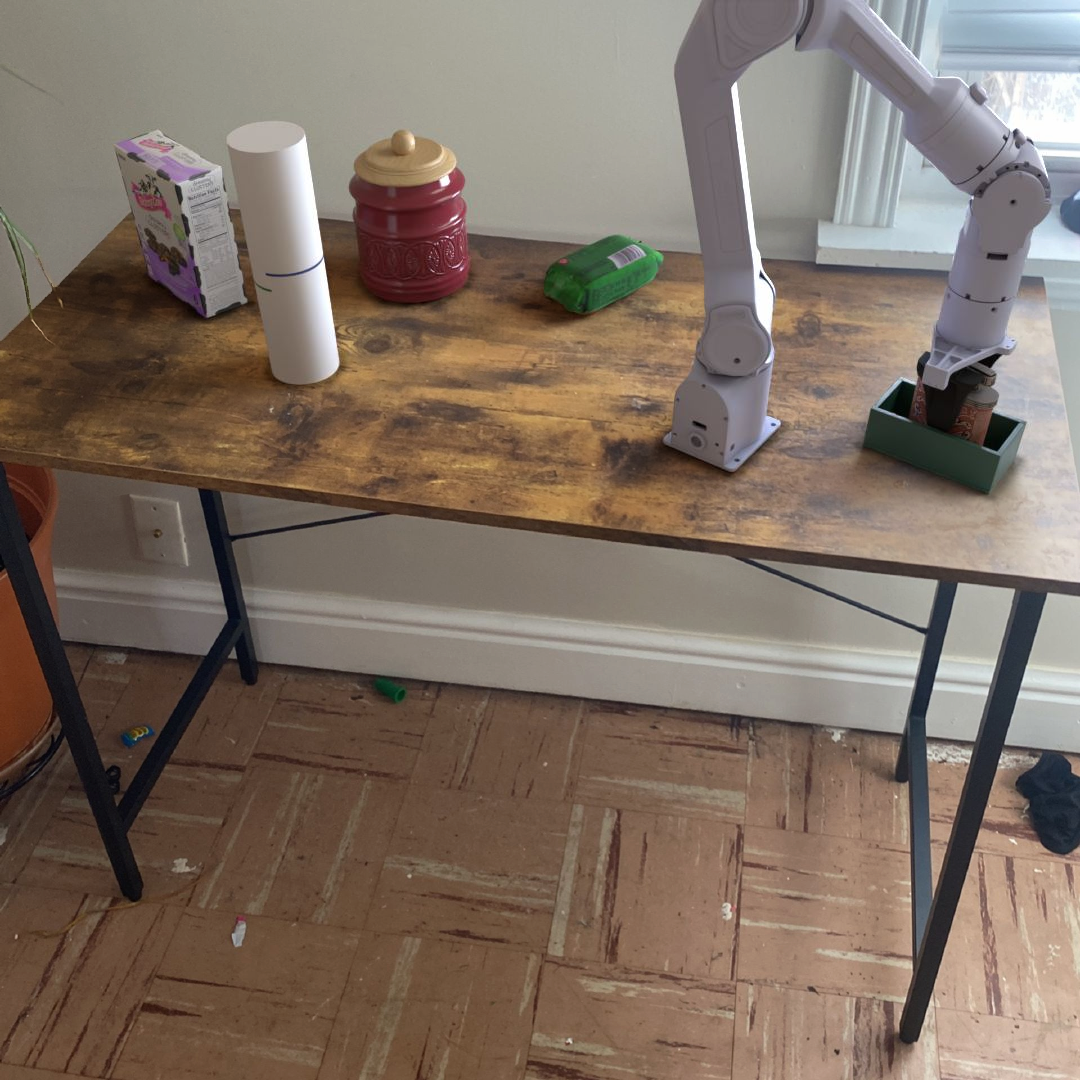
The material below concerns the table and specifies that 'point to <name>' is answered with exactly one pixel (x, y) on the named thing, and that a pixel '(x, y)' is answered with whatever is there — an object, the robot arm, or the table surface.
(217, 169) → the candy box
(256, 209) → the cylindrical container
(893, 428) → the green open box
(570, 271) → the snack package
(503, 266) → the table surface
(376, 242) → the kitchen canister
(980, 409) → the lighter
